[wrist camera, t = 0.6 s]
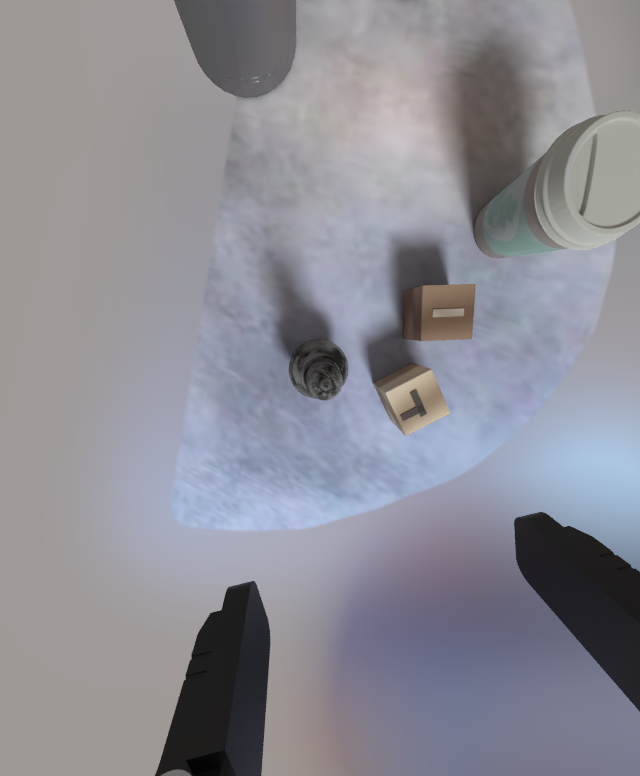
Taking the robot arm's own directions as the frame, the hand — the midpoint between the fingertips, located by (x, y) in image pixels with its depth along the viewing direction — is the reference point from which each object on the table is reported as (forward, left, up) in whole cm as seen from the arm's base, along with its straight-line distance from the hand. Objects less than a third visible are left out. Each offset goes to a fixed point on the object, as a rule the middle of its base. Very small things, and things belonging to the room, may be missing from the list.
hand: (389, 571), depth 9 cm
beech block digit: (+2, +9, -26) cm, 27 cm away
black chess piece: (-3, 0, -26) cm, 26 cm away
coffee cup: (-13, +22, -26) cm, 36 cm away
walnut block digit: (-6, +13, -26) cm, 29 cm away
